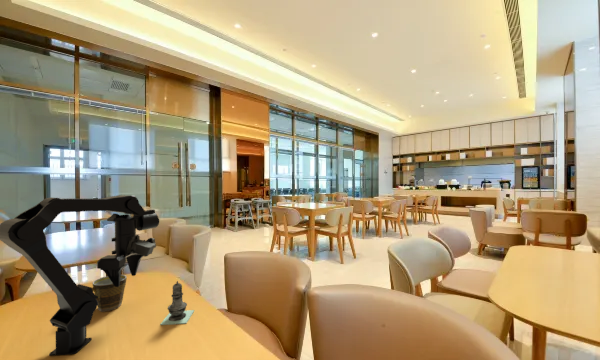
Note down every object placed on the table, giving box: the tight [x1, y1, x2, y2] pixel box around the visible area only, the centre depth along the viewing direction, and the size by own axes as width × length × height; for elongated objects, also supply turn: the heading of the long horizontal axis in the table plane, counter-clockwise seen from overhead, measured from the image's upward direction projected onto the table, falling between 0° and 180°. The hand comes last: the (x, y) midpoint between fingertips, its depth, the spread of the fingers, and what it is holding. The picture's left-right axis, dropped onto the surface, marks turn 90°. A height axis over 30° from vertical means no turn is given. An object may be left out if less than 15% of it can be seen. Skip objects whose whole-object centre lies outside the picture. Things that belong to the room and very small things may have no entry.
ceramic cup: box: [91, 274, 127, 312], centre depth 92 cm, size 13×10×10 cm
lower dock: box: [160, 309, 195, 326], centre depth 85 cm, size 8×8×1 cm
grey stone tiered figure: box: [167, 280, 188, 321], centre depth 85 cm, size 6×6×12 cm
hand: (125, 280), depth 84 cm, fingers open, 9 cm apart
